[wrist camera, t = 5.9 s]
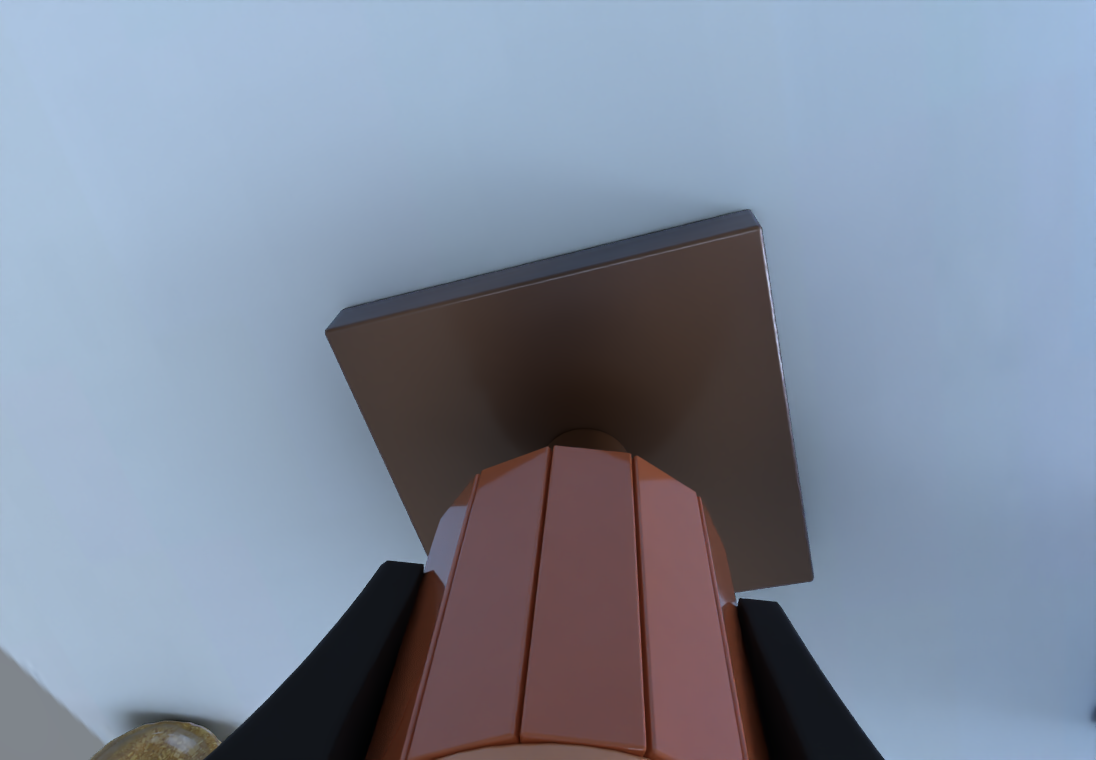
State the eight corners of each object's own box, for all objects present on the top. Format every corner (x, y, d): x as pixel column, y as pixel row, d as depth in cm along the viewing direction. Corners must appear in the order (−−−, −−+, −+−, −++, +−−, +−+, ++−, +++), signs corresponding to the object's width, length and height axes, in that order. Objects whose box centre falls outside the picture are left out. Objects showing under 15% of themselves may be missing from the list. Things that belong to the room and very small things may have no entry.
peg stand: (750, 207, 14) (826, 325, 9) (803, 548, 18) (875, 758, 13) (340, 308, 16) (220, 454, 11) (469, 600, 20) (424, 803, 15)
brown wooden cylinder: (748, 463, 12) (856, 831, 7) (695, 675, 15) (744, 1064, 9) (438, 432, 12) (312, 769, 7) (437, 647, 15) (344, 1014, 10)
